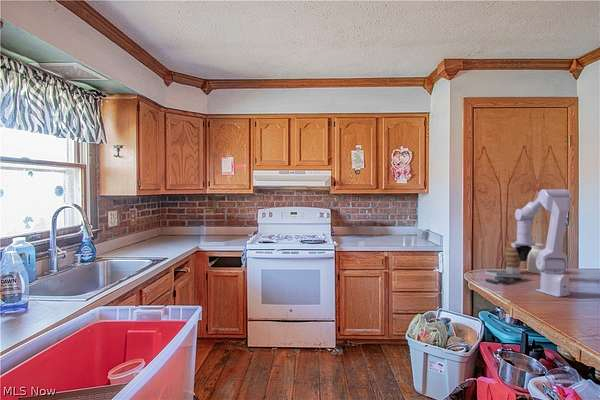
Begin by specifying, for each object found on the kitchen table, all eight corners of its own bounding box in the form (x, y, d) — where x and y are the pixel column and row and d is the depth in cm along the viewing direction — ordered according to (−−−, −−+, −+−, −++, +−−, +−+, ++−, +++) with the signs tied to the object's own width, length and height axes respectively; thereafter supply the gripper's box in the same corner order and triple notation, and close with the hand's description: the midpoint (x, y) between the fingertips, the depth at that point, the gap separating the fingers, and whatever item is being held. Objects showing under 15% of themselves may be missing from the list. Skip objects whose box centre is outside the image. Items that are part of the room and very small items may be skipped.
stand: (524, 280, 163) (524, 276, 163) (497, 284, 157) (497, 279, 157) (510, 277, 170) (510, 272, 170) (483, 280, 163) (483, 275, 163)
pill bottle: (545, 274, 175) (546, 245, 175) (526, 272, 180) (527, 244, 179) (545, 271, 182) (546, 243, 181) (527, 269, 186) (528, 242, 186)
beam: (523, 277, 164) (523, 273, 164) (496, 276, 157) (496, 272, 157) (511, 274, 169) (511, 271, 169) (485, 273, 163) (485, 269, 163)
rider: (519, 274, 165) (519, 267, 165) (512, 274, 163) (512, 267, 163) (512, 273, 168) (513, 266, 168) (505, 272, 166) (506, 265, 166)
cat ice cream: (525, 275, 174) (526, 240, 173) (509, 275, 174) (510, 240, 174) (515, 270, 183) (515, 237, 182) (500, 270, 183) (501, 237, 182)
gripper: (525, 231, 174) (525, 258, 174) (505, 233, 168) (505, 260, 169) (540, 233, 167) (539, 261, 168) (519, 235, 162) (518, 263, 162)
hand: (523, 260), depth 168 cm, fingers closed
